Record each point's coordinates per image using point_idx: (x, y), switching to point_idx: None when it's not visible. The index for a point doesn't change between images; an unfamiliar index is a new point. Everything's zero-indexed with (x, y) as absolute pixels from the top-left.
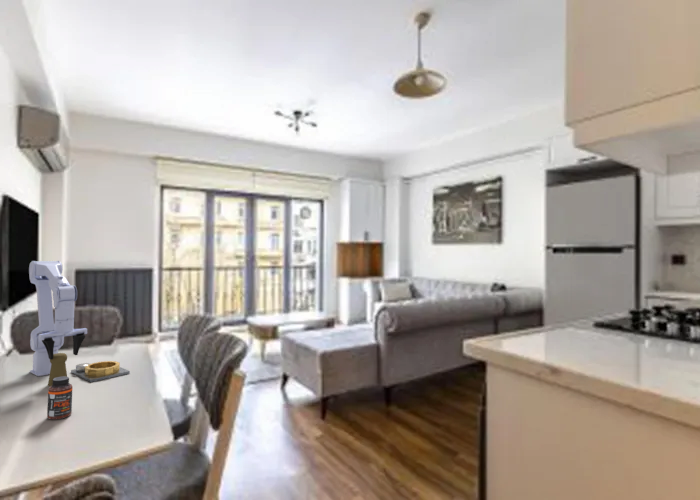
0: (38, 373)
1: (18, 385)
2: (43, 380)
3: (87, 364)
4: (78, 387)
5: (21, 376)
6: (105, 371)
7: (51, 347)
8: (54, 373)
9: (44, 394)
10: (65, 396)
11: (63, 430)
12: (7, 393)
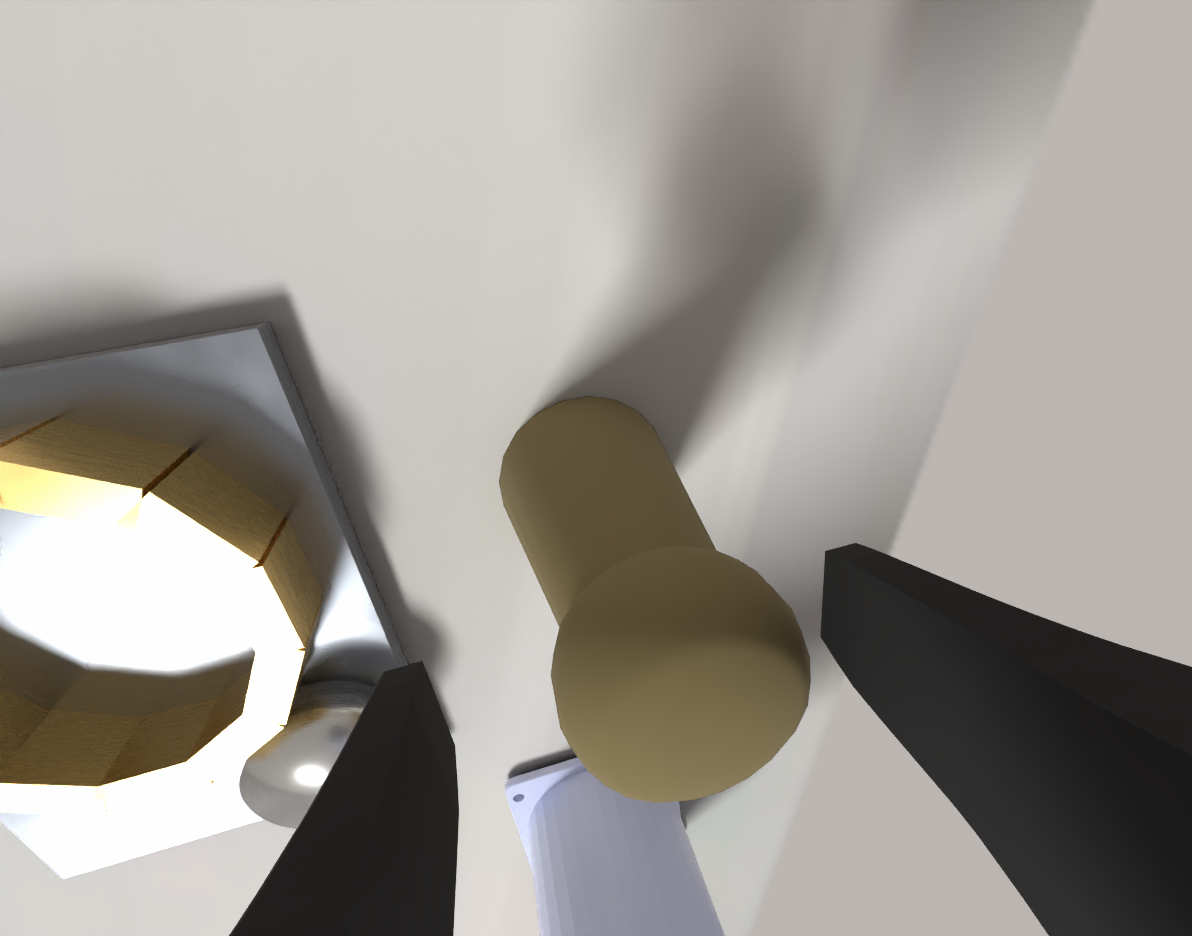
0: None
1: (811, 593)
2: None
3: (278, 785)
4: (421, 199)
5: None
6: (5, 440)
7: (1181, 703)
8: (670, 482)
9: (755, 186)
10: None
11: None
12: (922, 436)
